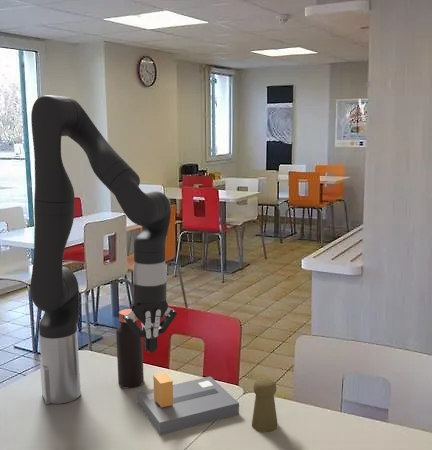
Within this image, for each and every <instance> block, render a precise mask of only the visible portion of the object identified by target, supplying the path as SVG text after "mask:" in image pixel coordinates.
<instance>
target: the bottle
mask: <svg viewBox="0 0 432 450" xmlns="http://www.w3.org/2000/svg"><path fill="white" fill-rule="evenodd" d="M131 311H132V308H125V309H121V310H119V311H118V321H119V324H120V325H119V326H118V327H117V328H116V330H115V335H116V336H115V337H116V356H117V381H118V385H119V386H120V387H122V388H125V389H133V388H134V389H135V388H138V387H140V386H141V385H142V384H143V383H144V381H145V379H144V377H145V376H144V353H143V352H144V351H143V348H144V347H143V337H139V336H138V335H137V334H136V333H135V331H134V330H133V329H132V328H131V327H130V326H129V325H128V324H127V323H126V322H125V321H124V320H123V316H124V315H128V314H129V313H130V312H131ZM138 322H139V319H138V318H137V317H136V316H135V322H134V323H135V324H136V325H137V326H138V328H139V329H140V330H142V326H140V325H139V324H138Z"/></svg>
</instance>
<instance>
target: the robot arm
mask: <svg viewBox="0 0 432 450" xmlns="http://www.w3.org/2000/svg"><path fill="white" fill-rule="evenodd" d="M30 119H31V133H32V142H33V156H34V158H33V159H34V199H33V200H34V202H33V203H34V205H33V206H34V210H33V211H34V215H33V216H34V231H33V232H34V233H33V234H34V237H33V246H34V247H33V261H32V269H31V279H30V286H29V287H30V297H31V300H32V302H33V304H34V305H35V307H37V309H39V310H40V311H43V312H44V313H43V316H42V318H41V319H40V320H39V321H40V322H39V323H38V334H39V345H40V346H39V347H40V348H39V349H40V360H39V365H40V366H39V369H40V381H41V393H42V398H43V400H44V402H45V404H46V405H49V404H56V405H58V404H65V403H70V402H73V401H75V400H76V399H78V398H79V397H80V396H81V394H82V392H81V373H80V358H79V356H80V355H79V342H78V341H79V340H78V323H79V317H80V288H79V282H78V278H77V277H76V274H75V273H74V272H73V271H71V270H70V269H69V268H67V267H63V260H64V254H65V249H66V246H67V243H68V239H69V238H70V235H71V231H72V228H73V225H74V218H75V201H76V199H75V190H74V187H73V184H72V181H71V179H70V176H69V175H68V172H67V171H66V168H65V166H64V163H63V158H62V137H68V138H70V139H71V140H72V141H74V142H75V143H76V144H77V145H78V146H79V147H80V148H82V149H83V152H84V153H85V155H86V156H87V158H88V159H87V160H88V162H89V164H90V167H91V169H92V171H93V173H94V175H95V176H96V177H97V178H98V179H99V181H100V182H101V183H102V184H103V185H104V186H105V187H106V188H107V189H108V191H110V192H111V193H112V194H113V195H114V197H115V198H116V200H117V203H118V205H119V206H120V208H121V209H122V211H123V212H124V215H125V216H126V217H127V219H129V220H130V221H131V222H132V223H133V224H134V225H137V226H140V227H142V229H141V232H140V233H139V234H138V235H137V236H136V237H135V238H134V241H133V268H132V281H133V282H132V283H133V284H132V287H133V289H132V290H133V291H132V292H133V293H132V294H133V304H132V307H131V309H132V311H131V312H130V313H129V314H128V315H124V316H123V320H124V321H125V322H126V323H127V324H128V325H129V326H130V327H131V328H132V329H133V330H134V331H135V333H136V334H137V335H138V336H139V337H142V338H143V348H144V350H145V351H146V352H147V353H148V354H152V353H156V350H157V349H158V336H159V335H161V334H165V333H166V331H167V330H168V328H169V327H170V325H171V324H172V322H174V319H175V318H176V317H177V315H178V312H177V311H176V310H174V308H171V307H169V303H168V301H167V278H168V275H167V264H166V240H167V235H168V232H169V225H170V222H171V216H172V211H171V203H170V201H169V197H168V196H167V195H166V194H164V193H163V192H161V191H150V192H149V191H148V192H144V191H142V189H141V188H140V184H141V178H140V176H139V175H138V173H137V172H136V171H135V170H134V168H132V167H131V166H130V165H129V164H128V163H127V162H126V161H125V160H124V159H123V158H122V157H121V156H120V154H119V153H117V152H116V150H115V149H114V148H113V147H112V146H111V145H110V143H109V142H108V141H107V140H106V138H105V137H104V136H103V135H102V133H101V132H100V130H99V129H98V128H97V126H96V124H95V123H94V122H93V120H92V119H91V118H90V116H89V114H87V111H85V109H84V108H83V107H82V106H81V104H80V103H79V102H78V101H77V100H76V99H74V98H73V97H69V96H63V95H62V96H61V95H47V94H46V95H45V94H44V95H41V96H39V97H37V98H36V99H35V101H34V103H33V105H32V109H31V118H30ZM135 316H136V317H137V318H138V321H139V322H140V324H141V329H142V330H140V329H139V328H138V326H137V325H138V324H137V325H136V324H135V323H134V322H135Z"/></svg>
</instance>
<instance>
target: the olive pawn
mask: <svg viewBox="0 0 432 450" xmlns="http://www.w3.org/2000/svg"><path fill="white" fill-rule="evenodd" d="M276 392H277V385H276V383H275V381H274V380H273V379H271V378H267V377H264V378H258V379H256V380H255V382H254V383H253V393H254V394H255V397H254V398H255V399H254V405H253V413H252V420H251V427H252V430H255V431H257V432H260V433H271V432H272V433H273V432H274V431H276V430H278V427H279V423H278V416H277V408H276V403H275V394H276Z"/></svg>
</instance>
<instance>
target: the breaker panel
mask: <svg viewBox="0 0 432 450" xmlns="http://www.w3.org/2000/svg"><path fill="white" fill-rule="evenodd" d="M136 393H137V405H138V406H139V407H140V409H141V410H142V412H143V413H144V415H145V416H146V417H147V419H148V420H149V421H150V423H151V425H152V426H153V427H154V429H155V430H156V431H157V433H158V434H159V436H162V435H165V434H168V433H174V432H176V431H181V430H184V429H188V428H189V429H190V428H192V427H196V426H201V425H203V424H207V423H212V422H214V421H215V422H216V421H219V420H224V419H226V418H231V417H235V416H238V415H240V402H239V401H237V399H236V398H234V397H233V396H232V395H231V394H230V393H229V392H228V391H227V390H226V389H225V388H224V387H222V386H221V384H220V383H218V382H217V381H216V380H215V379H214V378H213V377H212V376H206V377H202V378H198V379H194V380H192V379H191V380H187V381H184V382H179V383H174V384H173V405H170V406H166V407H162V408H161V407H160V405H159V404H158V403H157V402H156V400H155V399H154V388H152V389H149V390H148V389H146V390H144V391H138V392H136Z"/></svg>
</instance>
